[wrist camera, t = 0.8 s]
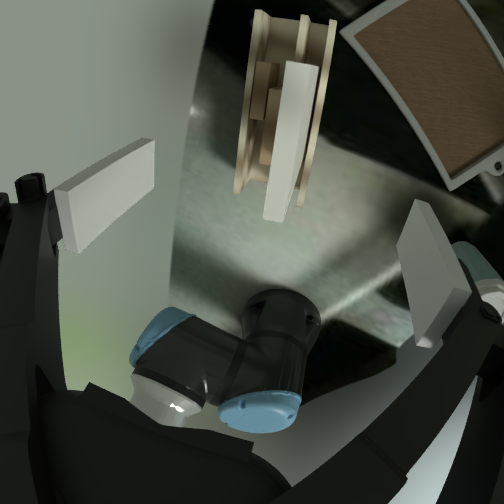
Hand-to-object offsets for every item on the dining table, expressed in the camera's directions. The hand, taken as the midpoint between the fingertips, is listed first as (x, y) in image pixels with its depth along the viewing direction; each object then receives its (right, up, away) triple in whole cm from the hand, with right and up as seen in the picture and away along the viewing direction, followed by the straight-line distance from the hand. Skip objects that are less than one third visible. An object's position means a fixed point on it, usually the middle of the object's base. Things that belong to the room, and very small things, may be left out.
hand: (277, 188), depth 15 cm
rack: (+3, +17, +26) cm, 31 cm away
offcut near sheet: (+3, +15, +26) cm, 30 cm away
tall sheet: (+6, +16, +24) cm, 30 cm away
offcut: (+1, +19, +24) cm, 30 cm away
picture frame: (+27, +20, +18) cm, 38 cm away
